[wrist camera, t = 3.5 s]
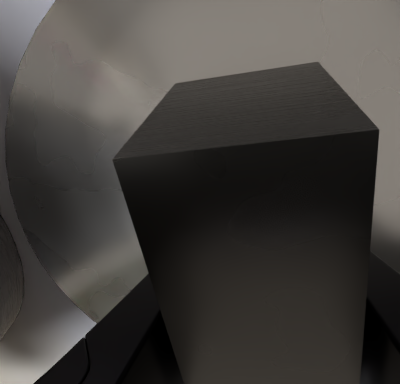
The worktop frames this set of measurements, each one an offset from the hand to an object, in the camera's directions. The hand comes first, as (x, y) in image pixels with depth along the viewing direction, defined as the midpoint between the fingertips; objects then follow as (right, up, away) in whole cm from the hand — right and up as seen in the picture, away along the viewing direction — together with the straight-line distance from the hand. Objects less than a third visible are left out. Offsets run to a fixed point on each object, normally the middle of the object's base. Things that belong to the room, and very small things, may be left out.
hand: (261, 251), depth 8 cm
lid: (0, +1, +2) cm, 2 cm away
